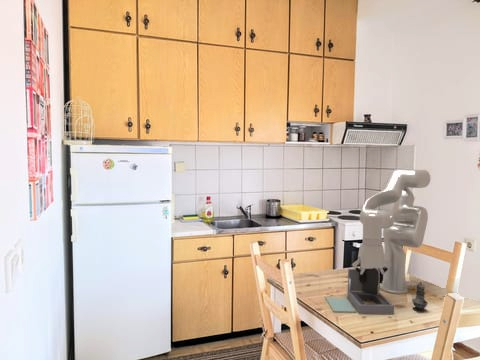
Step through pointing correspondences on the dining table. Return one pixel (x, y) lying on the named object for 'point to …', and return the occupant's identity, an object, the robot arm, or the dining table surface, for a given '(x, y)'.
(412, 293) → the dining table surface
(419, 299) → the dark grey upright piece
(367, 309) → the case
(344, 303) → the rubber mat
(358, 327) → the dining table surface
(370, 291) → the battery charger
